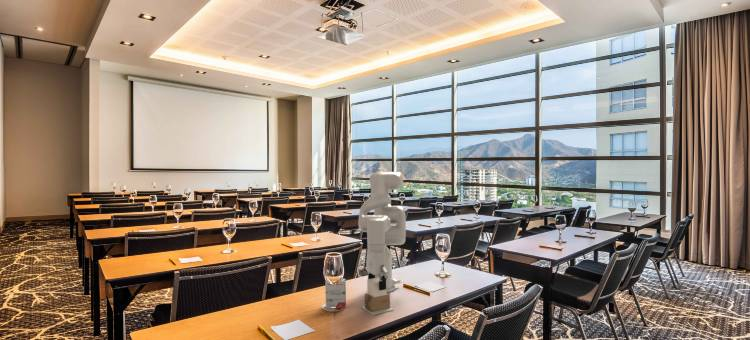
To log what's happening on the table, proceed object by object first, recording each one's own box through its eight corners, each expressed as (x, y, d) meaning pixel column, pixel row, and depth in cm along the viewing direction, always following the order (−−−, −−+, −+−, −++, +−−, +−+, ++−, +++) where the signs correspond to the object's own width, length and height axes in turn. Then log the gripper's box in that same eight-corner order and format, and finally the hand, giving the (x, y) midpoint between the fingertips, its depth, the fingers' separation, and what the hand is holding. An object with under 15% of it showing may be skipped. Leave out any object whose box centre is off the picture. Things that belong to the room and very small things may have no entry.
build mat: (381, 303, 177) (381, 302, 177) (393, 310, 168) (393, 309, 168) (361, 307, 172) (361, 306, 172) (372, 315, 163) (372, 314, 163)
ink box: (346, 304, 177) (345, 277, 176) (345, 308, 172) (344, 281, 171) (327, 304, 177) (326, 278, 176) (325, 308, 172) (325, 281, 171)
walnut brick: (364, 307, 171) (364, 293, 170) (382, 303, 175) (382, 290, 175) (371, 312, 165) (371, 297, 165) (389, 307, 170) (389, 293, 170)
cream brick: (379, 290, 174) (379, 277, 174) (386, 294, 169) (386, 280, 169) (367, 293, 171) (367, 279, 171) (374, 297, 166) (373, 283, 166)
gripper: (359, 244, 176) (360, 282, 176) (378, 252, 161) (379, 294, 161) (374, 242, 179) (375, 279, 180) (394, 249, 164) (394, 290, 165)
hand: (377, 286), depth 171 cm, fingers open, 9 cm apart
